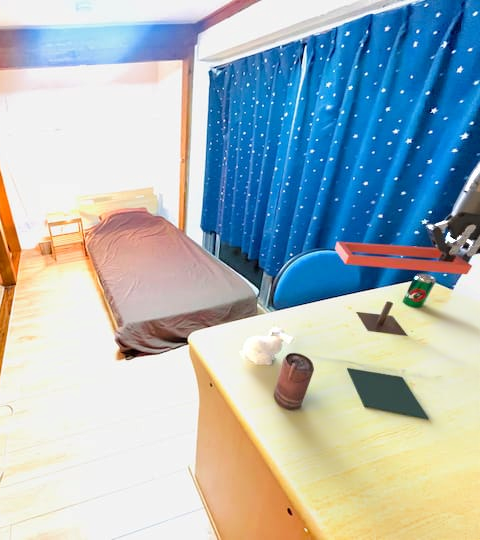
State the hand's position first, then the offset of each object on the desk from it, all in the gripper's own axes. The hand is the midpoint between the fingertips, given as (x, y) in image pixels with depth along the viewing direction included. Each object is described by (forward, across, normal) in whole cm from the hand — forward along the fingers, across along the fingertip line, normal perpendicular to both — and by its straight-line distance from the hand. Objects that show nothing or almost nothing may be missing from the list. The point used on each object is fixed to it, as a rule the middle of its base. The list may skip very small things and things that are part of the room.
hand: (447, 268), depth 60 cm
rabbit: (+33, +31, +3) cm, 45 cm away
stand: (+32, -5, -20) cm, 38 cm away
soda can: (+32, -18, -34) cm, 50 cm away
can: (+33, +27, +17) cm, 46 cm away
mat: (+32, +4, +8) cm, 33 cm away
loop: (-1, +10, 0) cm, 10 cm away
